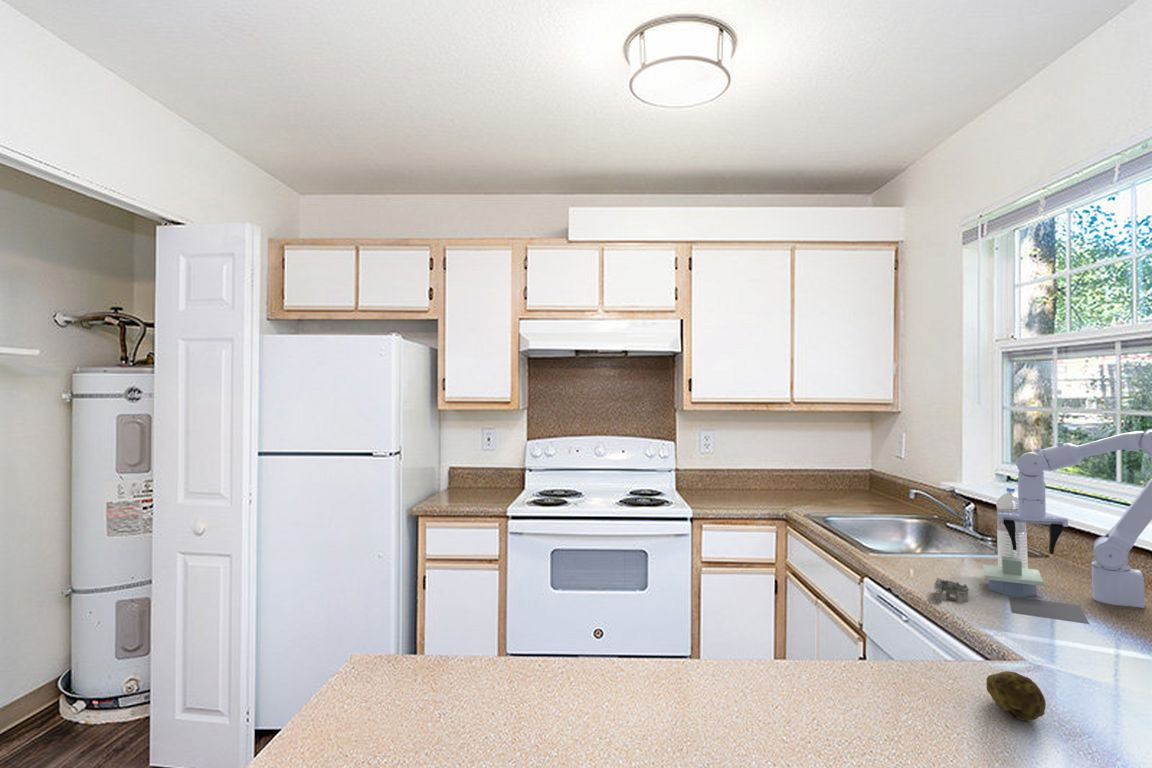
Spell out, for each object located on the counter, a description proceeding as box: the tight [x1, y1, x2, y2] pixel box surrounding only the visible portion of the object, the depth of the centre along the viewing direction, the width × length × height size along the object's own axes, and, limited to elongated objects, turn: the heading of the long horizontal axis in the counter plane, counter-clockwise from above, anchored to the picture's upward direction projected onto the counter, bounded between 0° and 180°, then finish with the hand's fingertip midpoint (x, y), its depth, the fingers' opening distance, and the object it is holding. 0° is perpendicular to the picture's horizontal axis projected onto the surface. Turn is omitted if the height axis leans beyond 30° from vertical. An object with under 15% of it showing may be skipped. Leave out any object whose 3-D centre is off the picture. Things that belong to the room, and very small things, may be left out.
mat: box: [1008, 595, 1090, 625], centre depth 146 cm, size 14×14×1 cm
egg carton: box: [933, 577, 970, 603], centre depth 157 cm, size 11×8×4 cm
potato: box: [985, 670, 1047, 722], centre depth 99 cm, size 8×13×8 cm, turn 140°
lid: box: [982, 556, 1044, 587], centre depth 160 cm, size 12×12×4 cm
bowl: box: [988, 580, 1037, 598], centre depth 160 cm, size 10×10×4 cm
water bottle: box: [995, 486, 1029, 569], centre depth 173 cm, size 7×7×25 cm
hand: (1032, 551), depth 161 cm, fingers open, 7 cm apart
